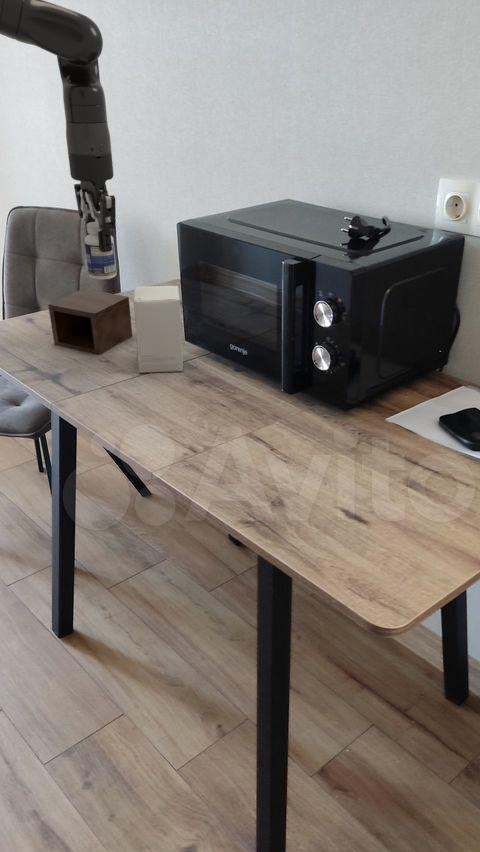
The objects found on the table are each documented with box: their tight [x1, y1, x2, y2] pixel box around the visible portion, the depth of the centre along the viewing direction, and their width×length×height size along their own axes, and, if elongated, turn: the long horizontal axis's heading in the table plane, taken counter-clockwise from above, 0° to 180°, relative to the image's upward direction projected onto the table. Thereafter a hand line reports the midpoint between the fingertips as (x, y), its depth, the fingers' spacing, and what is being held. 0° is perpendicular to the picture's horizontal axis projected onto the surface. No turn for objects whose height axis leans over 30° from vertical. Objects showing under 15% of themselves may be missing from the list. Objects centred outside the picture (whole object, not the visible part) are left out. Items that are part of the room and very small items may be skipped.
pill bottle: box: [84, 221, 118, 280], centre depth 133 cm, size 5×5×10 cm
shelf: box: [47, 288, 133, 355], centre depth 152 cm, size 12×12×9 cm
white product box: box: [133, 285, 184, 374], centre depth 141 cm, size 9×9×15 cm
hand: (99, 247), depth 133 cm, fingers closed on pill bottle, 5 cm apart
